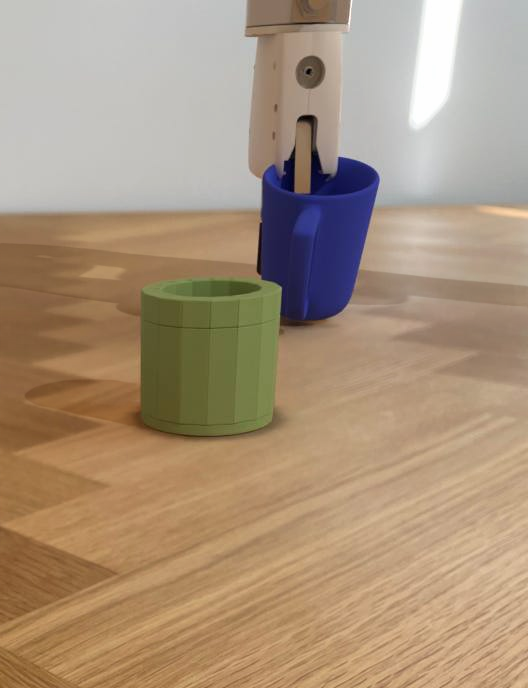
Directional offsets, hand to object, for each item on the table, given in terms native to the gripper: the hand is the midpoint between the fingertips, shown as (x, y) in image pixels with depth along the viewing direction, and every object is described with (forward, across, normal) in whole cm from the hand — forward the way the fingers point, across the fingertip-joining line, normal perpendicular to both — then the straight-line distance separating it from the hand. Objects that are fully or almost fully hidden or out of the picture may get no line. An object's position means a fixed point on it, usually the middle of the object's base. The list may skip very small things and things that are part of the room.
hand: (277, 275), depth 85 cm
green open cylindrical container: (+3, -30, +11) cm, 33 cm away
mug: (+2, -6, 0) cm, 6 cm away
